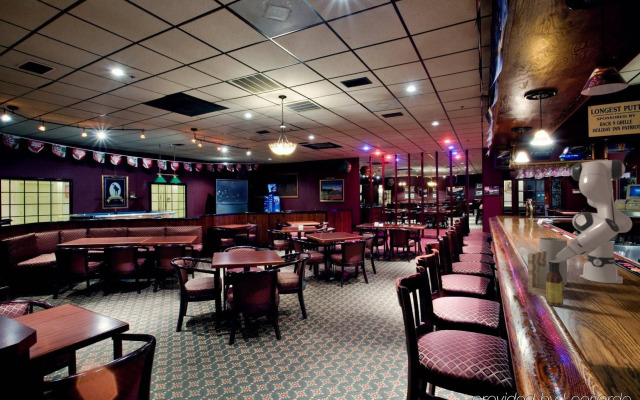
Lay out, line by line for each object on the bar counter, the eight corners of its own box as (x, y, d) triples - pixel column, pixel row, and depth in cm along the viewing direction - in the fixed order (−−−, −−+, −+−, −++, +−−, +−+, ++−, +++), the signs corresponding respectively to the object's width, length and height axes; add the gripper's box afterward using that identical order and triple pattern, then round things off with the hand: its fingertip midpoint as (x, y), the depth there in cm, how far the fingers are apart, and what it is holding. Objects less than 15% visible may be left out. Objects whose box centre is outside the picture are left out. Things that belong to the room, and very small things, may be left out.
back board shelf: (542, 286, 171) (542, 249, 171) (564, 290, 163) (564, 252, 163) (527, 292, 161) (527, 253, 161) (550, 297, 153) (550, 256, 152)
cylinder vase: (543, 284, 174) (543, 240, 173) (537, 279, 185) (537, 237, 185) (570, 287, 169) (570, 241, 169) (562, 281, 181) (562, 238, 180)
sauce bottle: (566, 307, 139) (566, 263, 139) (550, 306, 140) (550, 262, 140) (558, 302, 146) (558, 260, 145) (543, 301, 147) (543, 259, 147)
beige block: (542, 283, 166) (542, 261, 166) (550, 284, 164) (550, 263, 163) (538, 284, 164) (538, 263, 163) (546, 286, 161) (546, 264, 161)
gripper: (583, 238, 158) (560, 254, 166) (568, 242, 146) (544, 259, 155) (595, 248, 154) (570, 264, 163) (580, 253, 143) (555, 270, 151)
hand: (557, 262), depth 159 cm, fingers open, 8 cm apart
